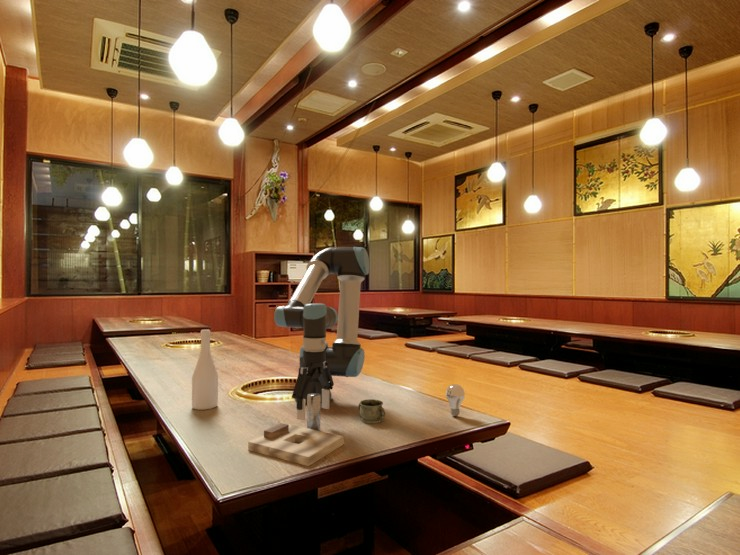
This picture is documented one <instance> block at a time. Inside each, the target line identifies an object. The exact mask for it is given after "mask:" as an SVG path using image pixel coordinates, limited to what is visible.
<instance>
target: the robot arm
mask: <svg viewBox="0 0 740 555" xmlns="http://www.w3.org/2000/svg"><path fill="white" fill-rule="evenodd" d="M370 269H371V268H370V258H369V253H368V251H367V249H366V248H364V247H362V246H360V247H359V246H330V247H326V248H324V249H322V250H320V251H319V252H317V253H316V254H315V255H313V256H312V257H311V258H310V260H309V261H308V263H307V265H306V271H305V273H304V274H303V276H302V278H301V280H300V281H299V283H298V285H297V287H296V288H295V290H294V292H293V294H292V295H291V296H290V298H289V300H288V302H287V304H286V305H282V306H281V305H278V307H276V308H275V311H274V315H273V319H274V323H275V325H276V326H277V327H283V328H299V329H301V328H303V335H302V336H303V337H302V346H301V347H300V349H299V361H298V362H299V367H298V374H297V378H296V381H295V385H294V389H293V392H292V394H291V395H292V396H291V398H292V399H294V401H295V402H296V419H297V420H301V421H305V420H306V405H307V395H308V394H311V393H318V394H321V409H325V410H329V409H330V402H331V401H332V397H333V396H332V392H331V391H332V390H333V388H334V385H335V382H334V379H333V377H341V378H342V377H345V378H356V377H358V376H359V375H360V374H361V372H362V369H363V366H364V363H365V358H366V357H365V352H366V351H365V349H364V348H362V346H361V343H360V341H359V340H358V334H359V318H360V303H361V302H360V300H361V287H362V286H361V285H362V284H361V283H362V282H364V280H365V278H366V276H367V275H369V274H370ZM329 275H336V277H337V279H338V280H339V282H340V283H339V284H340V285H339V286H340V287H339V299H338V311H337V310H336V309H335V308H333V307H331V306H327V305H326V304H325V303H323V302H322V303H321V302H320V303H319V302H318V303H316V302H315V303H311V302H312V301H313V299H314V298H315V295H316V293H317V291H318V289H319V287H320V286H321V285H322V284H321V283H322V282H323V280H325V279H326V278H327V277H328V276H329ZM336 324H337V328H336V339H334V341H332V345H331V346H329V344H328V343H327V341H326V340H327V338H326V337H327V329H331V328H333V326H335V325H336Z"/></svg>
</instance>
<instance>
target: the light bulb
mask: <svg viewBox="0 0 740 555" xmlns="http://www.w3.org/2000/svg"><path fill="white" fill-rule="evenodd" d="M465 394H466V393H465V390H464V387H462V386H461V385H460V384H457V383H453V384H450V385H449V386H447V388H446V390H445V397H446V399H447V401H448V403H449V407H450V415H452V417H454V418H457V417H458V416H459V415H460V408H461V405H462V402H463V401H464V399H465Z"/></svg>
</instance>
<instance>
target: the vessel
mask: <svg viewBox="0 0 740 555" xmlns="http://www.w3.org/2000/svg"><path fill="white" fill-rule="evenodd" d="M383 405H384V402H383V401H382V400H379V399H372V398H371V399H363V400H360V401H359V403H358V406H357V410H358V413H359V415H360V416H361V418H360V421H361V422H363V423H366V424H376V423H380V422H382V421H384V418H385V416H386V411H385V410H386V409H385V408H384V407H383Z"/></svg>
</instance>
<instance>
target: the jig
mask: <svg viewBox="0 0 740 555" xmlns="http://www.w3.org/2000/svg"><path fill="white" fill-rule="evenodd" d="M344 438H345V435H344V436H343V435H340V434H335V433H331V432H325V431H321V430H320V431H317V430H313V429H308V428H307V427H303V426H298V425H294V424H289V423H282V422H280V423H278V424H276V425H274V426H271V427H269V428H267V429H264V431H263V434H261V435H260V436H258V437H255V438H253V439H250V440H249V441H248V445H247V447H248V448H247V451H251V452H254V453H258V454H262V455H266V456H269V457H273V458H276V459H281V460H285V461H287V462H291V463H295V464H299V465H302V466H307V467H310V466H311V465H313V464H314V463H316V462H318V461H319V460H321V459H323V458H325V457H326V456H327V455H329V454H330V453H333V452H334V451H335V450H338V449H339V448H340V447H342V446H343V444H344V445H345V441H344V440H345V439H344ZM297 442H298V443H297Z"/></svg>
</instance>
